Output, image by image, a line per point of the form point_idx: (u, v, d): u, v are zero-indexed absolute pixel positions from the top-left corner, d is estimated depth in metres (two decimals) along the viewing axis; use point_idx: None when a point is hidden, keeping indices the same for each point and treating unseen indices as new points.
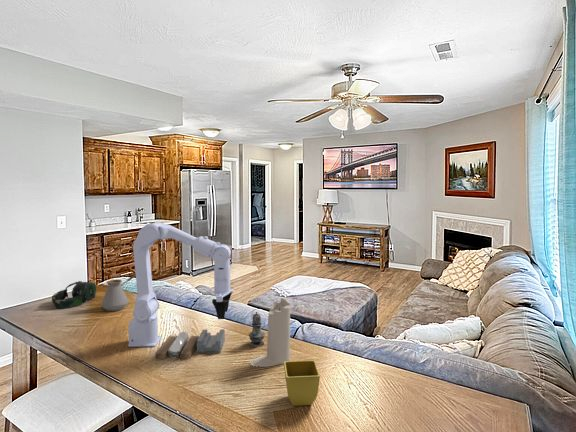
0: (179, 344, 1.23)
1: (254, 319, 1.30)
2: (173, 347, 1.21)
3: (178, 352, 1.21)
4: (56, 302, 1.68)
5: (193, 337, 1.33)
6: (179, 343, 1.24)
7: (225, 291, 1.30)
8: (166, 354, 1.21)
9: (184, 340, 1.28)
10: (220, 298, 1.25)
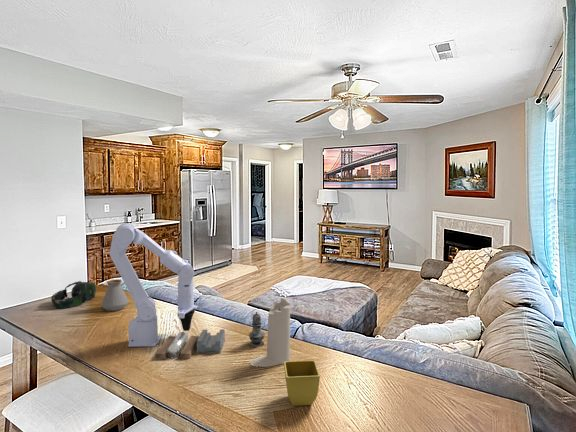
0: (176, 344, 1.23)
1: (254, 319, 1.30)
2: (171, 347, 1.21)
3: (177, 351, 1.21)
4: (56, 302, 1.68)
5: (193, 337, 1.33)
6: (177, 342, 1.24)
7: (188, 307, 1.35)
8: (166, 354, 1.21)
9: (182, 339, 1.28)
10: (182, 315, 1.30)
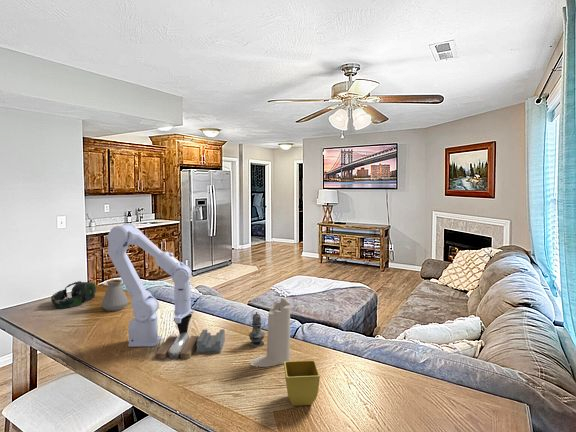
0: (180, 345, 1.22)
1: (254, 319, 1.30)
2: (174, 347, 1.20)
3: (178, 353, 1.20)
4: (56, 302, 1.68)
5: (193, 337, 1.33)
6: (180, 344, 1.24)
7: (185, 312, 1.30)
8: (166, 354, 1.21)
9: (185, 341, 1.27)
10: (178, 319, 1.25)
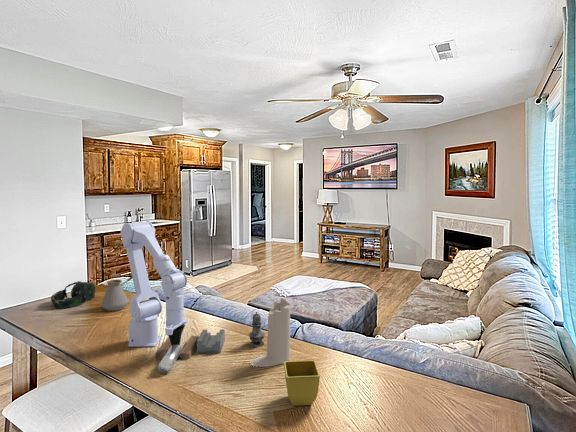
0: (171, 360, 1.12)
1: (254, 319, 1.30)
2: (165, 362, 1.10)
3: (169, 368, 1.11)
4: (55, 302, 1.67)
5: (193, 337, 1.33)
6: (172, 358, 1.14)
7: (177, 322, 1.20)
8: None
9: (177, 354, 1.18)
10: (170, 331, 1.16)
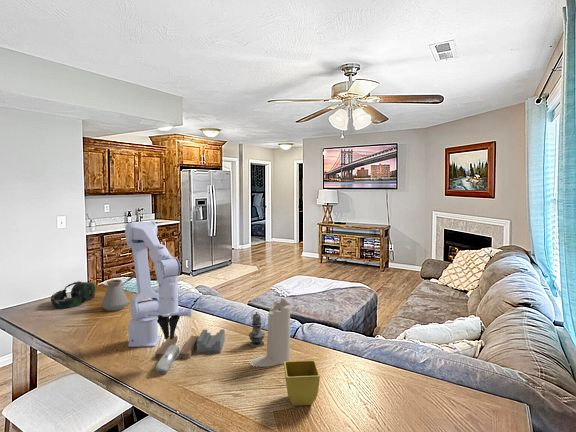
0: (166, 359, 1.12)
1: (254, 319, 1.30)
2: (160, 363, 1.10)
3: (167, 367, 1.10)
4: (55, 302, 1.67)
5: (193, 337, 1.33)
6: (167, 357, 1.14)
7: (159, 310, 1.14)
8: None
9: (173, 353, 1.17)
10: None
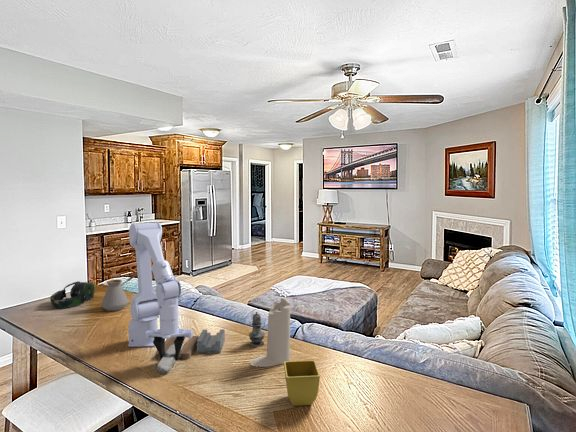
0: (169, 359, 1.12)
1: (254, 319, 1.30)
2: (163, 362, 1.10)
3: (168, 368, 1.10)
4: (55, 302, 1.67)
5: (193, 337, 1.33)
6: (170, 357, 1.14)
7: (160, 332, 1.15)
8: None
9: None
10: None
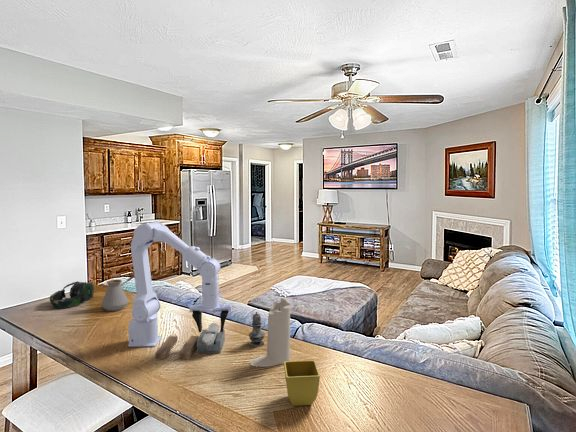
0: (212, 335, 1.24)
1: (254, 319, 1.30)
2: (207, 337, 1.22)
3: (212, 342, 1.22)
4: (54, 302, 1.67)
5: (193, 337, 1.33)
6: (212, 333, 1.26)
7: (202, 306, 1.27)
8: (166, 354, 1.21)
9: (216, 331, 1.29)
10: None
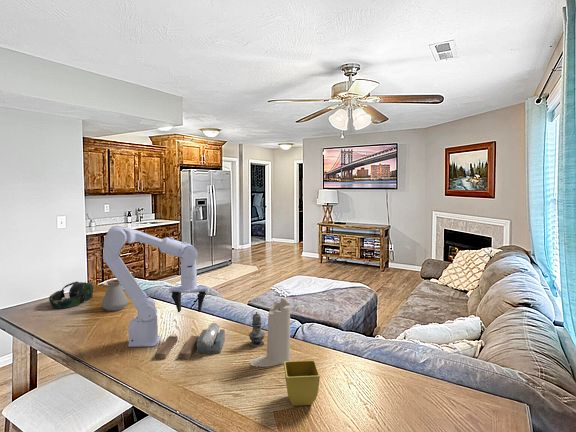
0: (212, 334, 1.24)
1: (254, 319, 1.30)
2: (207, 337, 1.22)
3: (212, 342, 1.22)
4: (54, 303, 1.67)
5: (193, 337, 1.33)
6: (212, 333, 1.26)
7: (181, 287, 1.36)
8: (166, 354, 1.21)
9: (216, 330, 1.29)
10: None
